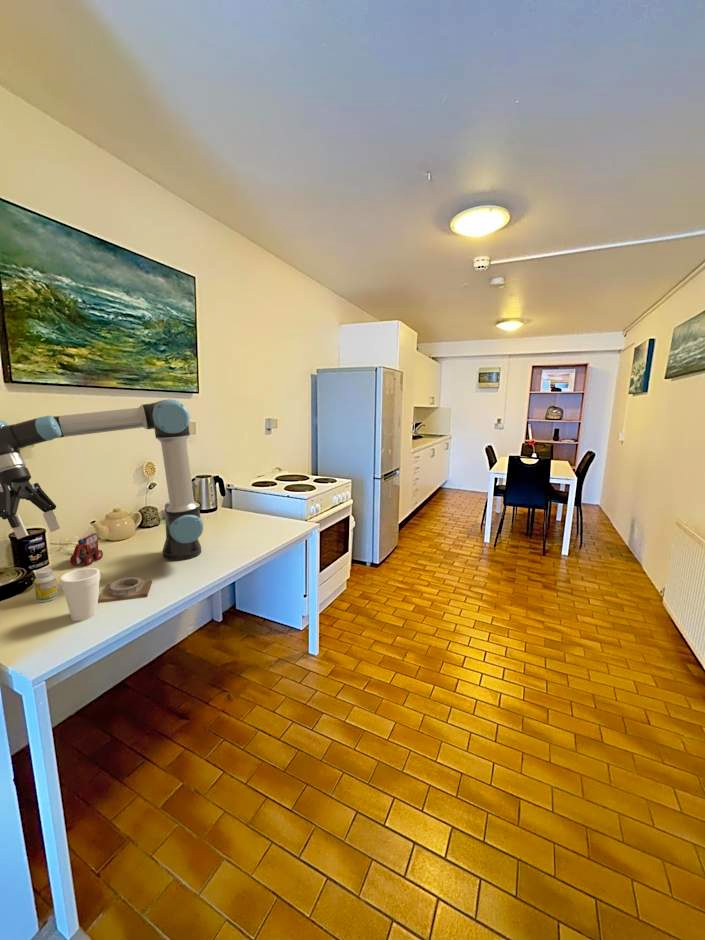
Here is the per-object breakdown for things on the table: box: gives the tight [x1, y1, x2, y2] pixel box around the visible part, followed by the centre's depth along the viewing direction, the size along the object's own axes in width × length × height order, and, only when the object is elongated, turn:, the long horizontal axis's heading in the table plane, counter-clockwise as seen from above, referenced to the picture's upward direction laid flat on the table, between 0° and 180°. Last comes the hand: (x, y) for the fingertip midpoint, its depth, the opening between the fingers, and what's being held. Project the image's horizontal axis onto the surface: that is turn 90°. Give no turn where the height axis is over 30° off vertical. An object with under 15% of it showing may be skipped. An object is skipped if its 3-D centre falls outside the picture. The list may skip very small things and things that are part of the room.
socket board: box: [98, 576, 153, 603], centre depth 130 cm, size 14×11×3 cm
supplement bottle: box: [33, 567, 58, 603], centre depth 123 cm, size 5×5×10 cm
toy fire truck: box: [69, 532, 104, 566], centre depth 152 cm, size 7×12×10 cm, turn 176°
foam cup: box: [60, 567, 101, 622], centre depth 114 cm, size 10×9×13 cm
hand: (40, 533), depth 119 cm, fingers open, 13 cm apart
